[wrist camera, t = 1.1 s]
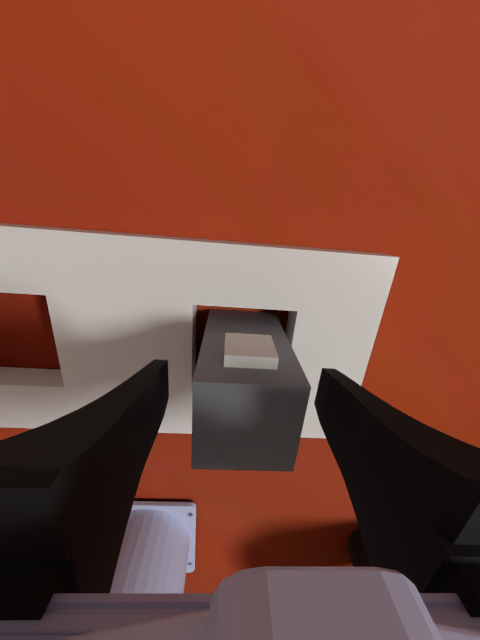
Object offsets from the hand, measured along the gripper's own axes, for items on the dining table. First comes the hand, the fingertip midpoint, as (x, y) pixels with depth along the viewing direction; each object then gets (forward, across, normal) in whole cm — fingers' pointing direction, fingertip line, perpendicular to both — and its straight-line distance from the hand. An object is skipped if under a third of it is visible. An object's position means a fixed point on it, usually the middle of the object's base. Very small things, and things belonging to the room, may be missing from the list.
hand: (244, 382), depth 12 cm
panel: (+5, +6, 0) cm, 8 cm away
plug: (+5, 0, 0) cm, 5 cm away
